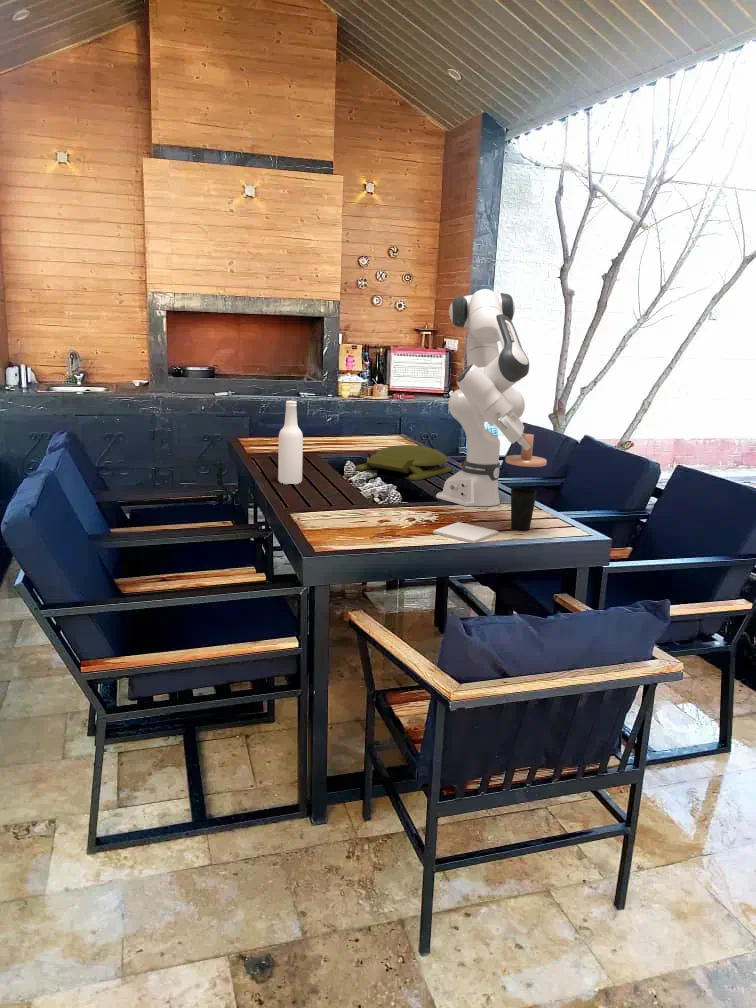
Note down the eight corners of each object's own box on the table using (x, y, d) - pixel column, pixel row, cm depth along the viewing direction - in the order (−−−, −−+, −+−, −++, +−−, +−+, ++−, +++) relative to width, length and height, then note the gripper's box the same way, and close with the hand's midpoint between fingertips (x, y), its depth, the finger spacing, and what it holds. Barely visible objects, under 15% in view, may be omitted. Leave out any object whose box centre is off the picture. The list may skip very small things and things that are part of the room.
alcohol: (299, 479, 287) (300, 399, 280) (304, 484, 279) (305, 402, 272) (276, 480, 285) (277, 399, 278) (280, 485, 277) (281, 402, 270)
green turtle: (416, 482, 293) (417, 457, 290) (352, 471, 310) (353, 447, 307) (460, 470, 321) (462, 447, 319) (399, 460, 338) (400, 438, 335)
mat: (432, 533, 223) (432, 530, 223) (458, 524, 234) (458, 522, 234) (473, 543, 215) (473, 540, 215) (498, 533, 226) (498, 531, 226)
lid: (498, 462, 226) (500, 433, 224) (517, 457, 236) (519, 430, 233) (534, 468, 219) (537, 439, 217) (553, 463, 228) (555, 435, 226)
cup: (537, 531, 230) (541, 493, 227) (514, 532, 228) (518, 493, 225) (525, 525, 237) (529, 487, 234) (503, 525, 235) (506, 487, 232)
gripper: (504, 409, 215) (536, 446, 215) (509, 401, 234) (538, 435, 235) (487, 423, 217) (519, 460, 217) (493, 415, 236) (522, 448, 237)
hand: (529, 447), depth 226 cm, fingers closed on lid, 3 cm apart
